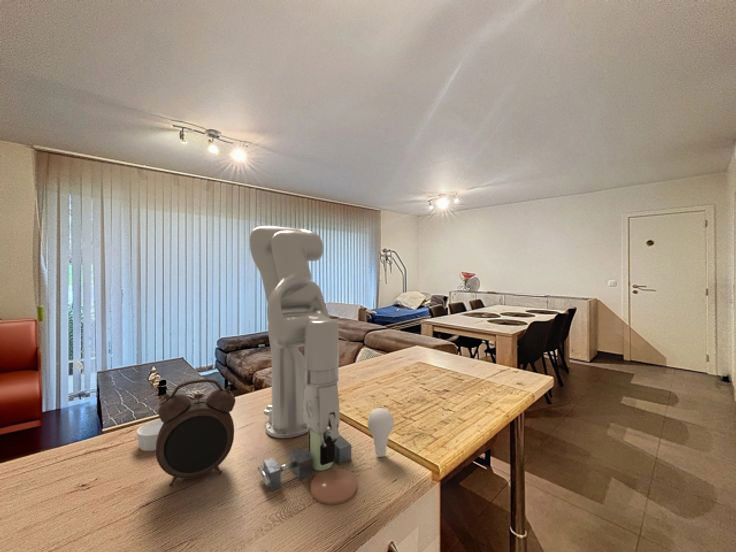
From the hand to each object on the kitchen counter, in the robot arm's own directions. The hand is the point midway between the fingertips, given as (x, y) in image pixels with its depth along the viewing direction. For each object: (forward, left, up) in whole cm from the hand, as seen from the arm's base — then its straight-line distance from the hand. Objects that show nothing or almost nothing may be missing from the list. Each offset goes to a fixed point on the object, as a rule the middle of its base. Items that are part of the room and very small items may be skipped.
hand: (321, 455), depth 70 cm
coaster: (+7, -5, -2) cm, 9 cm away
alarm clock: (-20, -16, -2) cm, 26 cm away
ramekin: (-41, -13, -2) cm, 43 cm away
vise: (-2, -3, -2) cm, 4 cm away
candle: (0, 0, -2) cm, 2 cm away
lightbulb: (+10, +9, -2) cm, 14 cm away
